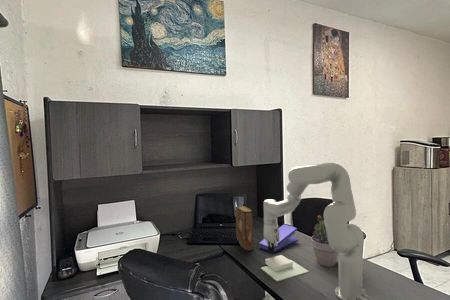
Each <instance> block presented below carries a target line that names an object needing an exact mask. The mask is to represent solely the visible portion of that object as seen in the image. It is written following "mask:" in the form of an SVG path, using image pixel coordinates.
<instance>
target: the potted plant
mask: <svg viewBox="0 0 450 300" xmlns="http://www.w3.org/2000/svg"><path fill="white" fill-rule="evenodd" d="M316 221H318V223H316V224H314V230H315V231H313V235H312V236H311V238H310V241H311V247H312V249H313V251H314V256H315V259H316V260H315V261H316V263H317V264H318V265H320V266H323V267H333V266H336V262H337V260H338V252H336V251H334V250H333V249H332V248H331V246H330V245H329V242H328V239H327V233H326V228H325V222H324V216H323V217H322V216H321V215H320V214H319V215H317V220H316Z"/></svg>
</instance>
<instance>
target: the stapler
mask: <svg viewBox="0 0 450 300" xmlns="http://www.w3.org/2000/svg"><path fill="white" fill-rule="evenodd" d="M278 228H279V238H280V241H279V242H277V246H274V253H277V252H278V251H280V250H282V249H284V248H286V247H288V246H291V245H292V244H294V243H296V242H298V241H299V239H298V238H296V237H292V236H293V235H295V234H296V232H297V231H298V228H297V227H295V226H291V225H287V224H282V225H281V226H280V227H278ZM258 245H259V246H260V249H262V250H264V251H267V252H268V245H267V241H266V240H265V238H263V239H262V240H261V241H260V242H258Z"/></svg>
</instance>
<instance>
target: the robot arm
mask: <svg viewBox="0 0 450 300" xmlns="http://www.w3.org/2000/svg"><path fill="white" fill-rule="evenodd" d="M287 174H288V175H287V178H288V181H289V182H288V183H287V184H286V187H285V188H286V191H287V192H288V193H289V194H288V195H287V197H286V198H285V199H283V200H279V201H277V200H276V199H271V198H270V199H269V198H268V199H264V201H263V239H265V240H266V241H267V245H268V251H267V252H268V253H269V254H271V255H272V254H275V252H274V246H277V242H279V241H280V238H279V228H280V227H279V224H278V217H282V216H285V215H288V214H292V212H294V211H295V210H296V208H297V207H298V206H299V204H301V203H300V202H301V200H302V195H303V193H304V192H305V191H306V189H307V188H308V186H309V185H318V184H319V185H320V184H324V183H327V182H331V186H330V192H331V198H332V203H330V204H328V205H327V206H325V208H324V210H323V220H324V222H325V228H326V233H327V239H328V242H329V245H330V246H331V248H332V249H333V250H334V251H336V252H338V255H337V264H338V265H337V268H338V269H337V271H338V275H337V276H338V277H337V278H338V286H336V287H335V289H334V294H335V296H336V297H337V298H338V299H340V300H370V299H371V297H370V296H368V294H366V289H364V288H363V249H364V244H365V243H364V242H365V241H364V239H365V238H364V237H365V236H364V232H363V231H362V229H361V228H360V227H359V226H358V225H356V224H354V223H349V222H352V221H353V220H354V219H355V218H356V215H357V210H356V205H355V200H354V199H355V198H354V194H353V191H352V184H351V178H350V175H349V173H348V170H347V169H346V168H345V167H343V166H342V165H341V164H339V163H335V162H325V163H318V164H311V165H300V166H294V167H292V168H291V169H290V170H288V173H287Z"/></svg>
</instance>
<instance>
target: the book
mask: <svg viewBox="0 0 450 300" xmlns="http://www.w3.org/2000/svg"><path fill="white" fill-rule="evenodd" d="M234 209H235V239H236V238H237V240H238V241H239V244H240V245H239V244H238V245H239V246H240V247H241V248H243V249H244V250H245V251H246V250H247V251H249V250H250V251H253V250H254V228H253V226H254V223H253V222H254V220H253V218H254V217H253V210H252V209H250V208H248V207H247V206H244V205H241V206H235V208H234Z"/></svg>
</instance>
